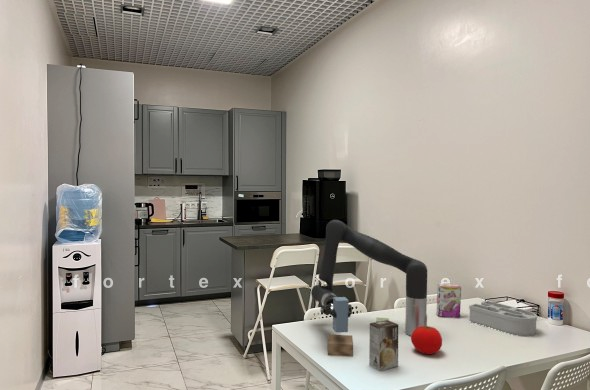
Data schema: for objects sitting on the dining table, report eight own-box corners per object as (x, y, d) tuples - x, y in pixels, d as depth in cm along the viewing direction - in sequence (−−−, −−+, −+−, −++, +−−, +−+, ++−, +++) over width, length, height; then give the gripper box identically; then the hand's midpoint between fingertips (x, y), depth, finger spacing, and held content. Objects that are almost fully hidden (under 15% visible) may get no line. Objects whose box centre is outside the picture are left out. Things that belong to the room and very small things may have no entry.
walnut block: (351, 347, 177) (352, 335, 177) (352, 356, 168) (353, 344, 167) (328, 345, 178) (328, 334, 178) (327, 355, 168) (328, 343, 168)
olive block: (387, 349, 175) (388, 318, 175) (388, 353, 170) (389, 322, 170) (375, 348, 176) (376, 317, 176) (376, 353, 171) (376, 321, 171)
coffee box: (387, 360, 164) (388, 319, 164) (398, 366, 159) (399, 324, 158) (368, 364, 160) (369, 322, 160) (379, 371, 154) (380, 328, 154)
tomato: (438, 360, 165) (438, 333, 165) (407, 353, 172) (408, 327, 171) (444, 350, 175) (445, 325, 174) (415, 344, 181) (416, 320, 181)
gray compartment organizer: (487, 316, 221) (487, 300, 221) (543, 332, 198) (543, 314, 198) (468, 322, 212) (469, 305, 211) (525, 339, 189) (525, 320, 188)
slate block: (344, 327, 176) (344, 296, 175) (347, 332, 171) (348, 300, 170) (332, 328, 175) (333, 297, 174) (335, 332, 170) (336, 300, 169)
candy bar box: (438, 317, 218) (439, 285, 218) (436, 314, 223) (436, 283, 223) (460, 318, 217) (461, 286, 217) (457, 315, 222) (458, 284, 222)
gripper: (315, 295, 185) (325, 306, 168) (347, 294, 188) (359, 305, 171) (315, 312, 185) (325, 325, 169) (346, 310, 188) (359, 323, 171)
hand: (342, 315), depth 170 cm, fingers closed on slate block, 5 cm apart
